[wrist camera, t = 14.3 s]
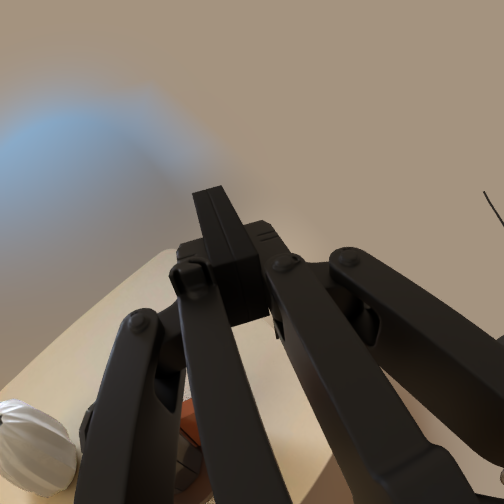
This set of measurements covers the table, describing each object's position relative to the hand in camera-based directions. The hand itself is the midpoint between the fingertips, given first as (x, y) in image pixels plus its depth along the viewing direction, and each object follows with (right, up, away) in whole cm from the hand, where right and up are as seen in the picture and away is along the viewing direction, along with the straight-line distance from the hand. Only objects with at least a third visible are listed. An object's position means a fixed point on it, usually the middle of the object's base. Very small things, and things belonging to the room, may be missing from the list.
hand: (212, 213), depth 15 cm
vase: (-28, -34, +13) cm, 45 cm away
